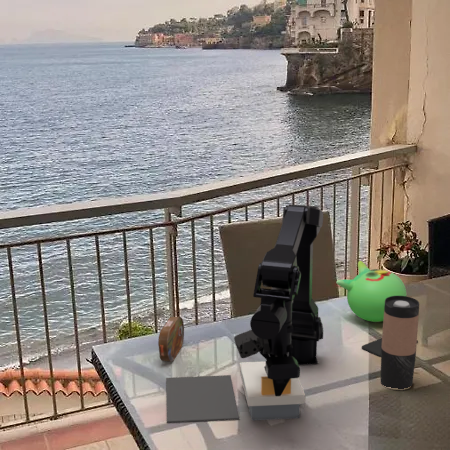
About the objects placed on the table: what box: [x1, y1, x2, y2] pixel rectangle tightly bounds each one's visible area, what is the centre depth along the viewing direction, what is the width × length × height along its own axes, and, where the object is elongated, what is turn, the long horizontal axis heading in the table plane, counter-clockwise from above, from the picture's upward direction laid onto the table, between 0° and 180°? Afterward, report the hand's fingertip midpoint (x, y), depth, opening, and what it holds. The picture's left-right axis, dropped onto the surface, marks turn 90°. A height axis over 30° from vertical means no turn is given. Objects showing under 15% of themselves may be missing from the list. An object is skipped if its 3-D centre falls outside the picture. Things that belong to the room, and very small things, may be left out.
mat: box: [165, 374, 240, 424], centre depth 153 cm, size 15×19×1 cm
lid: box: [239, 361, 306, 407], centre depth 150 cm, size 12×16×6 cm
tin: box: [157, 316, 185, 363], centre depth 174 cm, size 15×3×8 cm, turn 168°
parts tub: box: [247, 404, 301, 421], centre depth 151 cm, size 10×14×5 cm
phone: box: [361, 337, 419, 358], centre depth 180 cm, size 7×1×15 cm
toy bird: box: [336, 260, 407, 323], centre depth 195 cm, size 18×17×15 cm
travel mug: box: [380, 295, 420, 389], centre depth 157 cm, size 8×8×20 cm
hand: (275, 389), depth 144 cm, fingers open, 5 cm apart
